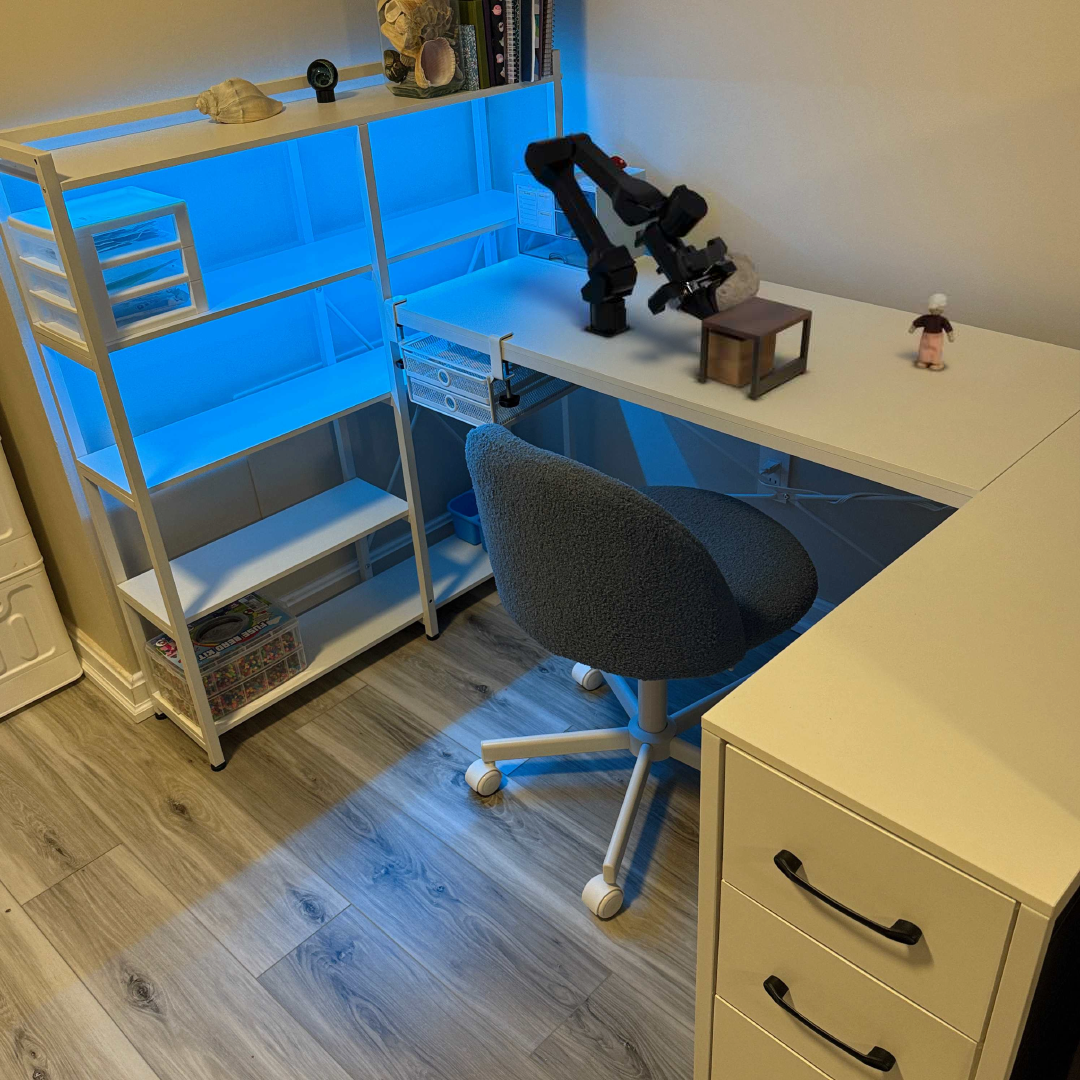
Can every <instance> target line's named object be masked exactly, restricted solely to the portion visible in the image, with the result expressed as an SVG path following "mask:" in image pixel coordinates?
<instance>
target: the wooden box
mask: <svg viewBox="0 0 1080 1080" xmlns="http://www.w3.org/2000/svg"><path fill="white" fill-rule="evenodd" d="M776 344H777V334H775V335H773V336H771V337H769V338H767V339H765V340H763V345H762V357H761V370H760V377H762V376H763V375H765V374H767V373H769V372H771V371H773V370H774V365H775V355H776ZM753 353H754V341H753V340H750V339H746V338H742V337H739V336H735V335H732V334H728V333H725V332H721V331H718V330H714V329H711V328H710V329H709V349H708V369H707V379H708V378H709V379H711V380H714V381H718V382H720V383H723V384H727V385H730V386H734V387H737V388H741V387H743V386H745V385H747V384H749V383H751V379H752V366H753Z"/></svg>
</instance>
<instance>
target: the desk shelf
mask: <svg viewBox="0 0 1080 1080" xmlns="http://www.w3.org/2000/svg"><path fill="white" fill-rule="evenodd" d="M812 318H813V310H811V309H806V308H803V307H799V306H795V305H791V304H787V303H782V302H780V301H775V300H771V299H767V298H763V297H760V296H757V295H756V296H755V297H753V298H750V299H748V300H746V301H744V302H741V303H739V304H737V305H735V306H732V307H730V308H728V309H726V310H724V311H719V313H717V314H715V315H712V316H710V317H708V318H706V319H703V320H702V321H701V330H700V349H699V351H700V352H699V353H700V354H699V371H698V373H699V374H698V383H702V384H705V383H707V382H708V377H707V369H708V349H709V329H710V328H711V329H714V330H718V331H721V332H725V333H728V334H732V335H735V336H739V337H742V338H746V339H750V340H753V341H754V353H753V366H752V379H751V381H750V393H749V395H750V396H749V399H750V400H753V401H756V400H758V399H759V396H760V395H762V394H764V393H766V392H767V391H769V390H771V389H773V388H775V387H777V386H778V385H781V384H783V383H784V382H786V381H788V380H789V379H792V378H793V377H796V376H797V375H799V374H801V375H804V374H805V373H807V366H808V356H809V346H810V339H811V338H810V337H811V328H812ZM799 323H802V329H801V339H800V348H799V349H800V350H799V356H797V357H796V358H794V359H792V360H790V361H788V362H786V363H784V364H782V365H781V366H778V367H777V368H775V369H773V370H771V371H769V372H768V373H766V374H764V375H762V376H760V370H761V357H762V345H763V340H765V339H767V338H769V337H771V336H773V335H775V334H776V335H777V334H779V333H781V332H784V331H785V330H787V329H789V328H791V327H794V326H796V325H797V324H799Z"/></svg>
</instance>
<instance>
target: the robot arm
mask: <svg viewBox="0 0 1080 1080" xmlns="http://www.w3.org/2000/svg"><path fill="white" fill-rule="evenodd" d="M523 160H524V164H525V166H526V168H527V170H528V171H529V172H530V174H531V175H532V177H533V178H534V179H535V181H536V182H537V183H539V184H540V185H542V186H543V187H545V188H546V189H548V190H549V191H551V193H552V195H553V196H554V198H555V200H556V202H557V204H558V206H559V208H560V209H561V211H562V213H563V215H564V217H565V218H566V220H567V222H568V224H569V226H570V228H571V230H572V231H573V233H574V235H575V237H576V239H577V240H578V242H579V244H580V246H581V247H582V249H583V251H584V253H585V254H586V258H587V263H586V264H587V265H586V274H587V276H588V279H589V280H588V281H587V282H585V284H584V285H583V286H582V288H580V295H581V298H582V301H583V302H586V303H588V304H589V324H587V325H585V326H584V330H585V331H588V332H591V333H594V334H596V335H601V336H604V337H607V338H611V337H613V336H615V335H618V334H620V333H623V332H625V331H627V330H629V329H631V325H630V324H628V323H627V307H626V297H630V296H632V295H633V292H634V288H635V286H636V284H637V280H638V275H639V271H638V268H637V266H636V264H637V261H636V260H635V259H634V258H633V257H632V255H631V253H630V250H629V248H628V247H627V246H626V245H625V244H621V245H618V246H617V245H615V244H614V243H613V242H612V241H611V240H610V238H609V237H608V235H607V233H606V231H605V229H604V228H603V226H602V224H601V223H600V221H599V219H598V216H597V215H596V213H595V211H594V209H593V208H592V206H591V204H590V202H589V201H588V199H587V197H586V195H585V193H584V191H583V189H582V188H581V186H580V184H579V183H578V182H579V181H577V179H576V175H575V167H577V168H579V169H580V170H581V171H582V172H583V173H584V174H585V175H586V176H587V177H588V178H589V179H590V180H592V182H594V184H596V185H597V187H598V188H599V189H601V190H602V191H603V192H604V193H605V194H606V195H607V196H608V197H609V199H610V200H611V206H612V210H613V211H614V212H615V213H616V215H617V216H618V217H619V218H620V220H621V221H622V223H623V224H624V225H626V226H628V227H630V228H631V227H636V226H637V227H638V226H640V225H643V224H647V223H648V224H647V225H646V227H644V228H642V229H638V230H637V231H635V238H634V242H633V243H634V244H633V246H634V248H635V249H638V248H641V247H643V246H645V247H646V249H647V251H648V252H649V253H650V255H651V257H652V258H653V261H655V263H656V265H658V266H657V268H656V269H655V272H656V273H657V275H658V276H660V275H662V274H663V275H664V276H665V278H666V279H667V281H668V282H666V283H664V284H662V285H660V287H658V289H656V290H655V292H654V293H653V294H652V295H651V296H649V297H648V298H647V308H648V309H649V311H650V312H651V314H652V316H656V315H659V314H661V313H663V312H665V311H666V305H667V304H668V303H670V302H671V301H674V300H677V299H676V298H678V299H679V300H677V301H678V303H679V304H678V305H677V306H675V310H677V311H682V312H684V313H686V314H688V315H690V316H692V317H694V318H696V319H698V320H699V321H701V322H702V320H703V319H706V318H708V317H710V316H712V315H715V314H717V313H719V312H720V311H719V309H718V305H717V300H716V289H717V288H719V287H720V286H721V285H722V284H723V283H725V282H726V281H727V280H728V279H729V278H730V277H731V276H732V275H733V274H734V273H735V272H736V271H737V270H738V269H737V268H736V266H735V265H734V263H733V262H732V261H731V260H726V259H725V256H724V254H726V253H727V251H728V250H729V247H728V245H727V244H726V243H725V241H724V240H723V239H722V237H720V236H716V237H713V238H712V239H711V238H710V239H709V240H707V242H706V246H705V247H703V248H700V249H697V247H695V245H693V244H689V245H686V242H684V240H683V239H682V238H686V237H687V236H689V234H690V233H691V232H692V231H693V230H695V228H696V226H698V225H699V223H700V222H701V221H703V219H704V218H705V217H706V215H707V214H708V211H709V208H708V203H707V201H706V199H705V197H703V196H702V195H701V194H699V193H698V192H697V191H694V190H692V189H689V188H688V186H687V185H686V184H685V183H682V184H679V185H676V186H675V187H674V188H673V190H672V191H671V193H670V194H669V196H668V195H665V194H663V193H662V191H660V189H659V188H657V187H656V186H654V185H653V184H651V183H650V182H648V181H647V180H644V179H640V178H637V177H634V176H632V175H630V174H629V173H627V172H626V171H625V170H624V169H623V168H622V167H621V166H620V165H619V164H618V163H616V161H614V160H613V159H612V158H611V157H610V156H609V155H608V154H607V153H606V152H604V150H603V149H602V148H600V147H599V146H598V145H597V144H596V143H595V142H594V141H593V140H592V138H591V136H590V134H588V133H586V132H584V131H583V132H581V131H580V132H576V133H572V134H571V133H570V134H567V135H565V136H563V137H560V136H555V137H550V138H546V139H542V140H536V141H532V142H530V143H528V145H527V147H526V149H525V152H524V159H523ZM719 261H721V262H719ZM717 262H719V263H717ZM712 265H713V266H712ZM710 266H712V267H711V268H710ZM709 268H710V269H709ZM708 269H709V270H708ZM707 270H708V271H707ZM706 271H707V272H706ZM704 272H706V273H705V274H703V273H704Z"/></svg>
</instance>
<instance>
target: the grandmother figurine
mask: <svg viewBox="0 0 1080 1080" xmlns="http://www.w3.org/2000/svg"><path fill="white" fill-rule="evenodd" d="M947 304H948V298H947V296H946V295H945V294H942V293H935V294H933V295H931V296H930V297H929V299H928V300H926V303H925V305H924V307H926V309H927V310H928V312H929V313H927V314H923V315H920V316H919V317H917V318H916V319H914V320H912V324H911V325H910V327H909V328H908V330H907V331H908V333H909V334H914V333H915V332H916V330H917V329H920V328H923V330H922V331H921V335H920V340H919V345H918V355H917V362H916V368H921V369H922V368H923V369H925V368H927V367H928V366H929V369H930V370H932V371H939V370H942V369H944V368H945V365H944V362H942V357H943V346H944V332H945V334H946V336H947V340H948V342H949V343H954V342H955V340H956V339H955V336H954V328H953V326H952V324H951V322H950V321H949V319H948V318H947V317H945V316H943V315H942V314H943V313H944V312H945V310H946V307H947ZM930 363H931V364H930Z"/></svg>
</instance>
